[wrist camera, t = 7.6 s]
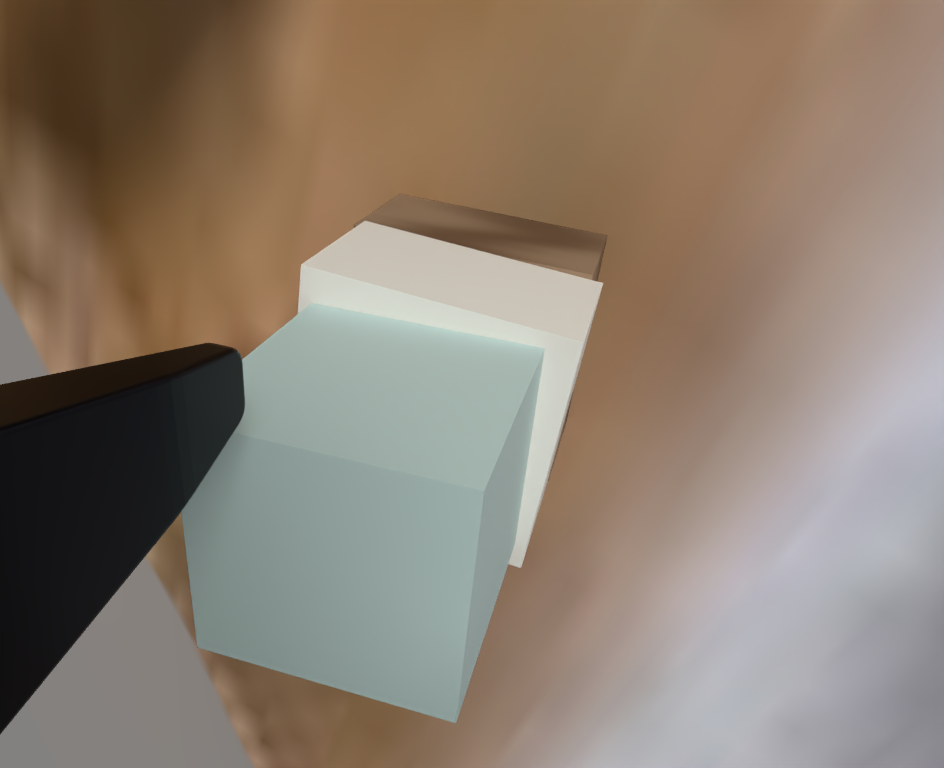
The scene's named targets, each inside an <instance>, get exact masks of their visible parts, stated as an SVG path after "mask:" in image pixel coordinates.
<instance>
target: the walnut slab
mask: <svg viewBox="0 0 944 768" xmlns="http://www.w3.org/2000/svg"><path fill="white" fill-rule="evenodd" d="M364 221H368V222H372V223H376V224H380V225H384V226H387V227H391V228H395V229H399V230H403V231H407V232H410V233H414V234H418V235H422V236H426V237H429V238H433V239H437V240H441V241H445V242H448V243H452V244H456V245H460V246H464V247H467V248H471V249H475V250H479V251H483V252H487V253H490V254H494V255H498V256H501V257H505V258H509V259H513V260H517V261H521V262H524V263H528V264H532V265H536V266H540V267H543V268H547V269H551V270H555V271H559V272H563V273H566V274H570V275H574V276H578V277H582V278H585V279H589V280H593V281H598V276H599V272H600V267H601V262H602V258H603V253H604V249H605V244H606V240H607V235H603V234H598V233H593V232H588V231H583V230H578V229H573V228H568V227H563V226H558V225H553V224H548V223H543V222H538V221H533V220H528V219H523V218H518V217H513V216H508V215H503V214H498V213H493V212H488V211H483V210H478V209H473V208H469V207H464V206H459V205H454V204H449V203H444V202H439V201H434V200H429V199H424V198H419V197H414V196H409V195H404V194H398V195H397V196H396V197H394V198H393V199H391V200H390V201H388V202H387V203H385V204H384V205H382V206H381V207H379V208H378V209H376V210H375V211H373V212H372V213H371V214H369V215H368V216H366V217H365V218H363V219H362V220H360V221H359V222H357V223H356V224H354V228H355V227H357V226H358V225H359V224H361V223H362V222H364ZM572 394H573V392H572ZM571 399H572V396H571ZM571 399H570V403H571ZM570 403H569V407H568V410H567V414H566V417H565V421H564V424H563V428H562V431H561V435H560V438H559V442H558V446H557V449H556V453H555V456H554V460H553V463H552V467H553V464H554V461H555V457H556V454H557V451H558V448H559V444H560V441H561V438H562V434H563V431H564V428H565V424H566V421H567V417H568V412H569V408H570ZM552 467H551V470H550V474H551V471H552ZM550 474H549V477H550ZM548 481H549V478H548Z"/></svg>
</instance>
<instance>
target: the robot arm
mask: <svg viewBox="0 0 944 768" xmlns="http://www.w3.org/2000/svg"><path fill="white" fill-rule="evenodd" d="M244 410H245V392H244V377H243V363H242V357H241V355H240V353H239V352H238V351H237V350H236V349H235V348H232V347H228V346H223V345H219V344H214V343H204V344H199V345H194V346H189V347H184V348H179V349H174V350H169V351H165V352H160V353H155V354H150V355H145V356H140V357H135V358H130V359H125V360H120V361H115V362H110V363H105V364H100V365H95V366H90V367H85V368H81V369H76V370H71V371H66V372H61V373H56V374H51V375H46V376H41V377H36V378H31V379H26V380H21V381H16V382H11V383H6V384H2V385H0V734H1V733H2V732H3V730H4V729H5V728H6V727H7V725H8V724H9V723H10V722H11V721H12V719H13V718H14V717H15V716H16V715H17V713H18V712H19V711H20V709H21V708H22V707H23V706H24V704H25V703H26V702H27V701H28V700H29V699H30V697H31V696H32V695H33V694H34V692H35V691H36V690H37V689H38V687H39V686H40V685H41V684H42V683H43V681H44V680H45V679H46V678H47V676H48V675H49V674H50V673H51V671H52V670H53V669H54V668H55V667H56V665H57V664H58V663H59V661H60V660H61V659H62V658H63V656H64V655H65V654H66V653H67V652H68V651H69V649H70V648H71V647H72V646H73V644H74V643H75V642H76V641H77V639H78V638H79V637H80V636H81V634H82V633H83V632H84V631H85V630H86V628H87V627H88V626H89V625H90V624H91V622H92V621H93V620H94V618H95V617H96V616H97V615H98V614H99V612H100V611H101V610H102V609H103V607H104V606H105V605H106V604H107V603H108V601H109V600H110V599H111V598H112V596H113V595H114V594H115V593H116V591H117V590H118V589H119V588H120V587H121V585H122V584H123V583H124V582H125V580H126V579H127V578H128V577H129V576H130V574H131V573H132V572H133V570H134V569H135V568H136V567H137V566H138V565H139V563H140V562H141V561H142V560H143V558H144V557H145V556H146V555H147V553H148V552H149V551H150V550H151V549H152V547H153V546H154V545H155V544H156V542H157V541H158V540H159V539H160V538H161V536H162V535H163V534H164V533H165V531H166V530H167V529H168V528H169V526H170V525H171V524H172V523H173V522H174V520H175V519H176V518H177V516H178V515H179V514H180V512H181V511H182V510H183V509H184V507H185V506H186V505H187V503H188V502H189V500H190V499H191V497H192V496H193V494H194V493H195V492H196V490H197V488H198V487H199V485H200V484H201V482H202V481H203V479H204V478H205V476H206V475H207V473H208V471H209V470H210V468H211V467H212V465H213V464H214V462H215V461H216V459H217V457H218V456H219V454H220V453H221V451H222V450H223V448H224V447H225V445H226V443H227V442H228V440H229V439H230V437H231V436H232V434H233V433H234V431H235V430H236V428H237V426H238V425H239V423H240V421H241V419H242V417H243V414H244Z"/></svg>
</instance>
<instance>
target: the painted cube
mask: <svg viewBox="0 0 944 768" xmlns="http://www.w3.org/2000/svg"><path fill="white" fill-rule="evenodd" d="M544 350H545V348H540V347H535V346H530V345H525V344H520V343H515V342H509V341H504V340H499V339H494V338H489V337H484V336H479V335H473V334H468V333H463V332H458V331H453V330H448V329H443V328H438V327H432V326H427V325H422V324H417V323H412V322H407V321H402V320H397V319H391V318H386V317H381V316H376V315H371V314H366V313H361V312H355V311H350V310H345V309H340V308H335V307H330V306H325V305H320V304H314V303H311V304H310V305H309V306H308V307H306V308H305V309H304V310H303V311H301V312H300V313H299V314H298V315H296V316H295V317H294V318H293V319H292V320H290V321H289V322H288V323H287V324H285V325H284V326H283V327H282V328H280V329H279V330H278V331H277V332H276V333H274V334H273V335H272V336H271V337H269V338H268V339H267V340H266V341H264V342H263V343H262V344H261V345H260V346H258V347H257V348H256V349H255V350H253V351H252V352H251V353H250V354H248V355H247V356H246V357H245V358H244V359H242V363H243V377H244V392H245V410H244V414H243V417H242V419H241V421H240V423H239V425H238V426H237V428H236V430H235V431H234V433H233V434H232V436H231V437H230V439H229V440H228V442H227V443H226V445H225V447H224V448H223V450H222V451H221V453H220V454H219V456H218V457H217V459H216V461H215V462H214V464H213V465H212V467H211V468H210V470H209V471H208V473H207V475H206V476H205V478H204V479H203V481H202V482H201V484H200V485H199V487H198V488H197V490H196V492H195V493H194V494H193V496H192V497H191V499H190V500H189V502H188V503H187V505H186V506H185V507H184V509H183V510H182V511H181V513H182V522H183V530H184V539H185V547H186V556H187V564H188V572H189V581H190V589H191V598H192V606H193V615H194V623H195V632H196V640H197V648H201V649H204V650H208V651H211V652H214V653H218V654H221V655H225V656H228V657H231V658H235V659H238V660H242V661H245V662H249V663H252V664H255V665H259V666H262V667H266V668H269V669H272V670H276V671H279V672H283V673H286V674H289V675H293V676H296V677H300V678H303V679H307V680H310V681H313V682H317V683H320V684H324V685H327V686H330V687H334V688H337V689H341V690H344V691H348V692H351V693H354V694H358V695H361V696H365V697H368V698H371V699H375V700H378V701H382V702H385V703H389V704H392V705H395V706H399V707H402V708H406V709H409V710H412V711H416V712H419V713H423V714H426V715H429V716H433V717H436V718H440V719H443V720H447V721H450V722H453V723H456V721H457V718H458V715H459V712H460V709H461V706H462V703H463V700H464V697H465V694H466V691H467V688H468V685H469V682H470V679H471V676H472V673H473V670H474V667H475V664H476V661H477V658H478V655H479V652H480V648H481V645H482V642H483V639H484V636H485V633H486V630H487V627H488V624H489V621H490V618H491V615H492V612H493V609H494V606H495V603H496V600H497V597H498V594H499V591H500V588H501V585H502V582H503V578H504V575H505V572H506V569H507V566H508V563H509V560H510V557H511V554H512V551H513V548H514V545H515V541H516V534H517V528H518V521H519V515H520V508H521V501H522V495H523V488H524V482H525V475H526V469H527V462H528V455H529V449H530V442H531V436H532V429H533V423H534V416H535V410H536V403H537V396H538V390H539V383H540V377H541V370H542V364H543V357H544Z"/></svg>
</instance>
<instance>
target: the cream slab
mask: <svg viewBox="0 0 944 768" xmlns="http://www.w3.org/2000/svg"><path fill="white" fill-rule="evenodd" d="M602 286H603V283H601V282H597V281H593V280H589V279H585V278H582V277H578V276H574V275H570V274H566V273H563V272H559V271H555V270H551V269H547V268H543V267H540V266H536V265H532V264H528V263H524V262H521V261H517V260H513V259H509V258H505V257H501V256H498V255H494V254H490V253H487V252H483V251H479V250H475V249H471V248H467V247H464V246H460V245H456V244H452V243H448V242H445V241H441V240H437V239H433V238H429V237H426V236H422V235H418V234H414V233H410V232H407V231H403V230H399V229H395V228H391V227H387V226H384V225H380V224H376V223H372V222H368V221H364V222H362V223H361V224H359V225H358V226H357V227H355V228H354V229H352V230H351V231H349V232H348V233H346V234H345V235H343V236H342V237H341V238H339V239H338V240H336V241H335V242H333V243H332V244H330V245H329V246H327V247H326V248H325V249H323V250H322V251H320V252H319V253H317V254H316V255H314V256H313V257H311V258H310V259H309V260H307V261H306V262H304V263H303V264H301V275H300V289H299V304H298V314H299V313H300V312H301V311H303V310H304V309H305V308H306V307H308V306H309V305H310V304H311V303H314V304H320V305H325V306H330V307H335V308H340V309H345V310H350V311H355V312H361V313H366V314H371V315H376V316H381V317H386V318H391V319H397V320H402V321H407V322H412V323H417V324H422V325H427V326H432V327H438V328H443V329H448V330H453V331H458V332H463V333H468V334H473V335H479V336H484V337H489V338H494V339H499V340H504V341H509V342H515V343H520V344H525V345H530V346H535V347H540V348H545V350H544V357H543V364H542V370H541V377H540V383H539V390H538V396H537V403H536V410H535V416H534V423H533V429H532V436H531V442H530V449H529V455H528V462H527V469H526V475H525V482H524V488H523V495H522V501H521V508H520V515H519V521H518V528H517V534H516V541H515V545H514V548H513V551H512V554H511V557H510V560H509V563H508V564H510V565H513V566H516V567H519V568H521V566H522V563H523V560H524V557H525V553H526V550H527V547H528V543H529V540H530V537H531V534H532V530H533V527H534V524H535V521H536V517H537V514H538V511H539V508H540V504H541V501H542V498H543V494H544V491H545V488H546V485H547V481H548V478H549V474H550V470H551V467H552V463H553V460H554V456H555V453H556V449H557V446H558V442H559V438H560V435H561V431H562V428H563V424H564V421H565V417H566V414H567V410H568V407H569V403H570V399H571V396H572V392H573V389H574V385H575V382H576V378H577V375H578V371H579V368H580V364H581V360H582V357H583V353H584V350H585V346H586V343H587V339H588V336H589V332H590V329H591V325H592V321H593V318H594V314H595V311H596V307H597V304H598V300H599V297H600V293H601V289H602Z"/></svg>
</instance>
